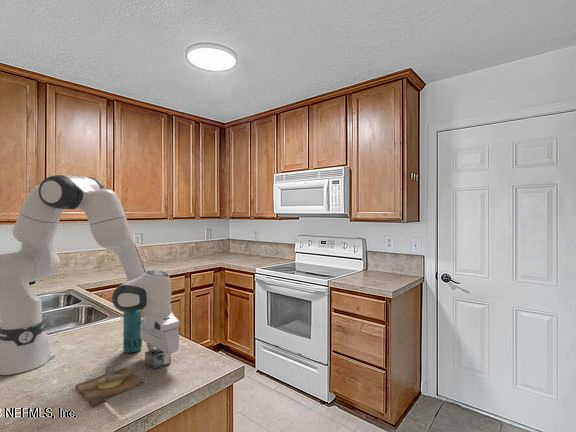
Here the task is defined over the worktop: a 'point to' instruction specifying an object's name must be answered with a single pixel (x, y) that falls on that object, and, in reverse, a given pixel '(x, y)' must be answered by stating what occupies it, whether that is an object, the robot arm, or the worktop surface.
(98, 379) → the brown square board
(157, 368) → the stand
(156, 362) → the square metal tube
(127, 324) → the beverage bottle
